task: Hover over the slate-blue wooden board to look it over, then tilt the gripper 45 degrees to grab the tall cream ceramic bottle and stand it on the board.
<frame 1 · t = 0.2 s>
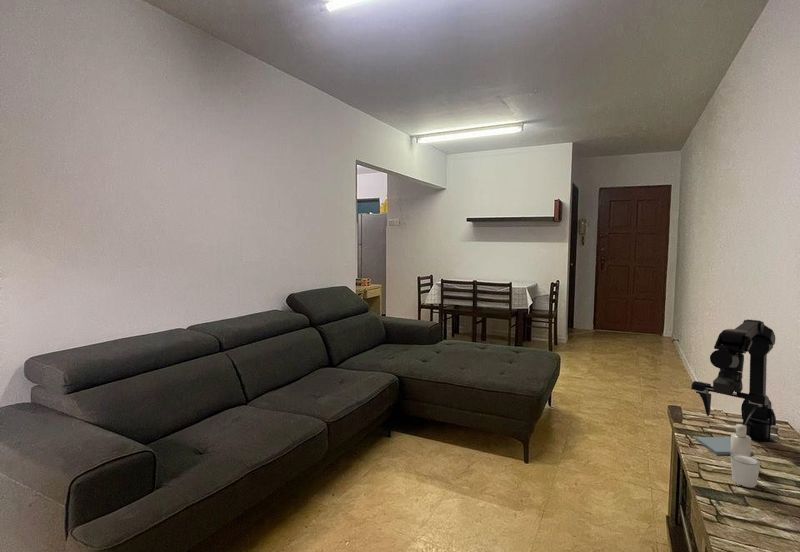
hand: (725, 420, 134), 15 cm above the table, tool pointing down, fingers open, 9 cm apart
shot glass: (744, 482, 127), on the table
slate board: (723, 447, 149), on the table
cream bottle: (740, 463, 137), on the table
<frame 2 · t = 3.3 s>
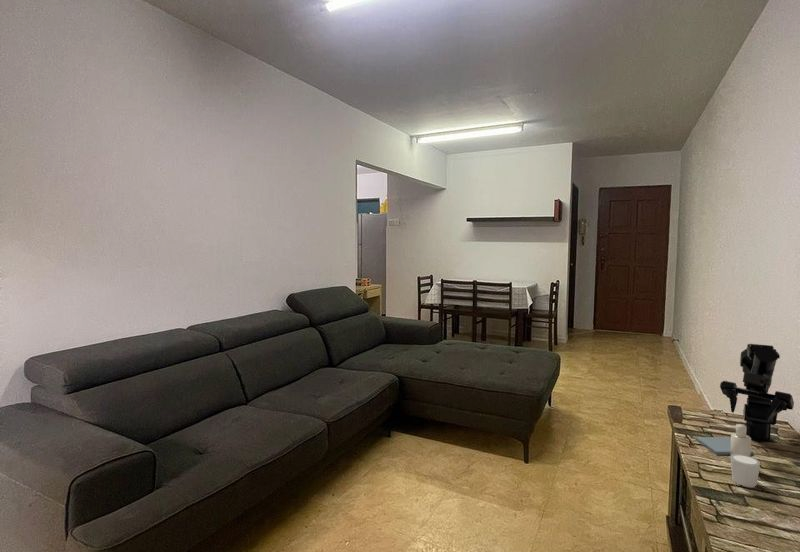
hand: (749, 416, 141), 13 cm above the table, tool tilted 45°, fingers open, 9 cm apart
nothing on the table moved.
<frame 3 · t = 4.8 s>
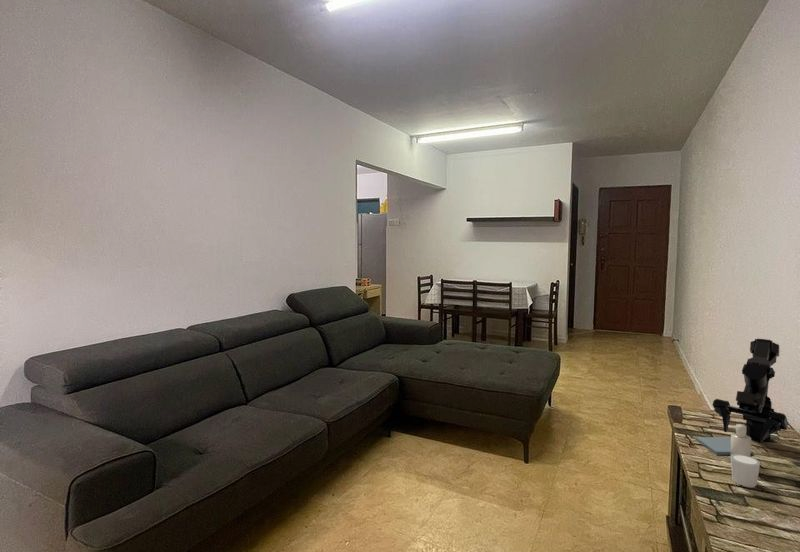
hand: (742, 436, 137), 9 cm above the table, tool tilted 45°, fingers open, 9 cm apart
nothing on the table moved.
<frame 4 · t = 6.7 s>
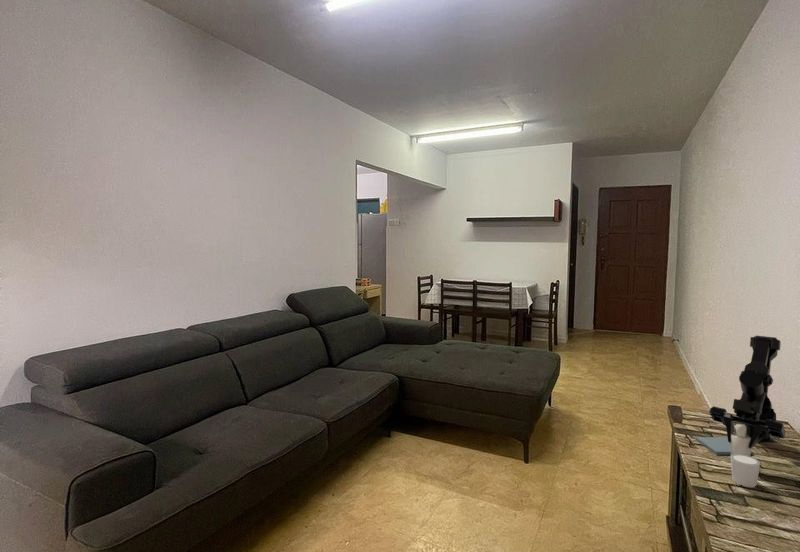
hand: (739, 444, 136), 7 cm above the table, tool tilted 45°, fingers closed on cream bottle, 5 cm apart
cream bottle: (740, 463, 137), on the table, touching gripper
everything else where it was.
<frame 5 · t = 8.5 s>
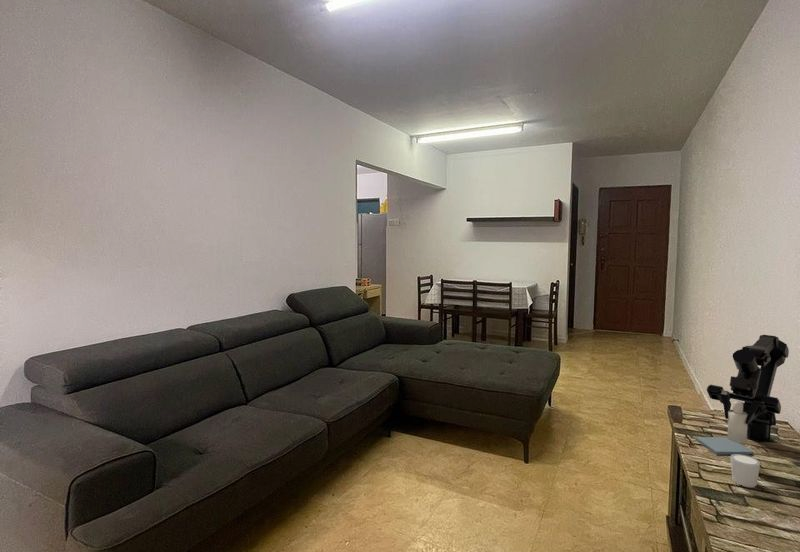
hand: (736, 421, 139), 13 cm above the table, tool tilted 45°, fingers closed on cream bottle, 5 cm apart
cream bottle: (737, 439, 140), point 7 cm above the table, touching gripper
everything else where it was.
when the fingers open (9 cm above the table, at t = 10.5 s): cream bottle drops 1 cm, resting on slate board.
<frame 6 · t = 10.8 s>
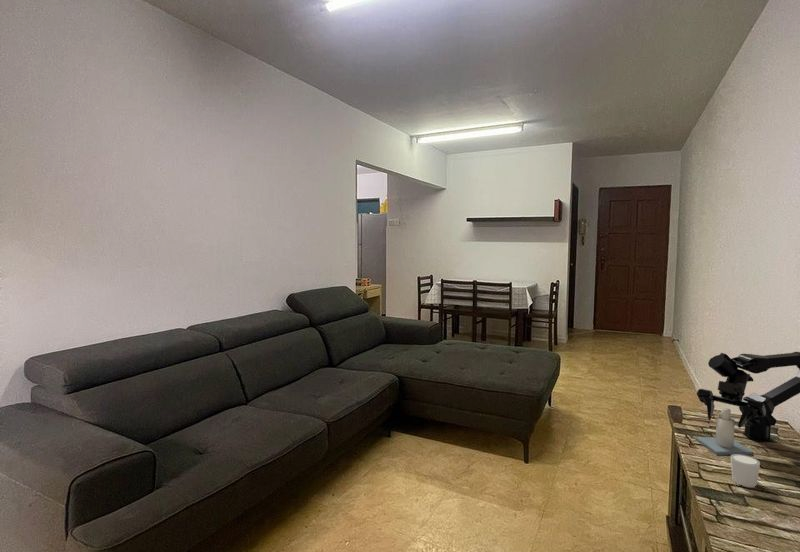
hand: (723, 423, 147), 9 cm above the table, tool tilted 45°, fingers open, 8 cm apart
cream bottle: (724, 444, 148), point 1 cm above the table, touching slate board
everything else where it was.
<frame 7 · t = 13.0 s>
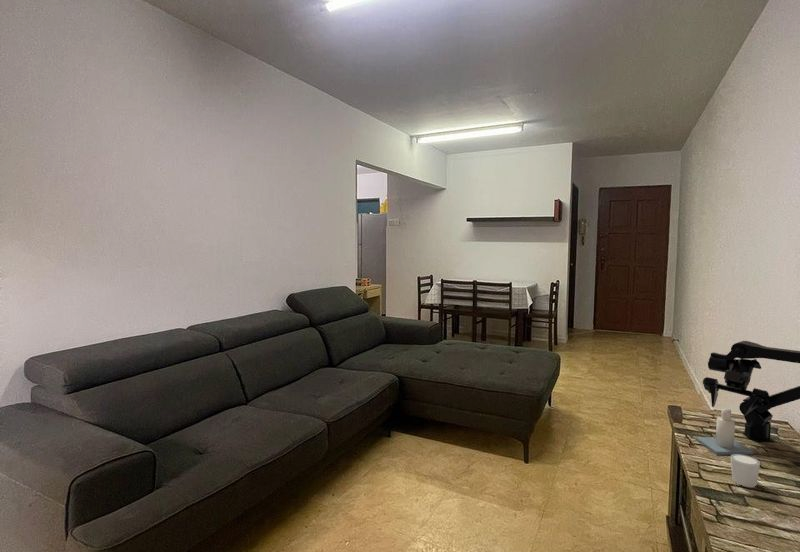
hand: (728, 410, 151), 12 cm above the table, tool tilted 45°, fingers open, 9 cm apart
nothing on the table moved.
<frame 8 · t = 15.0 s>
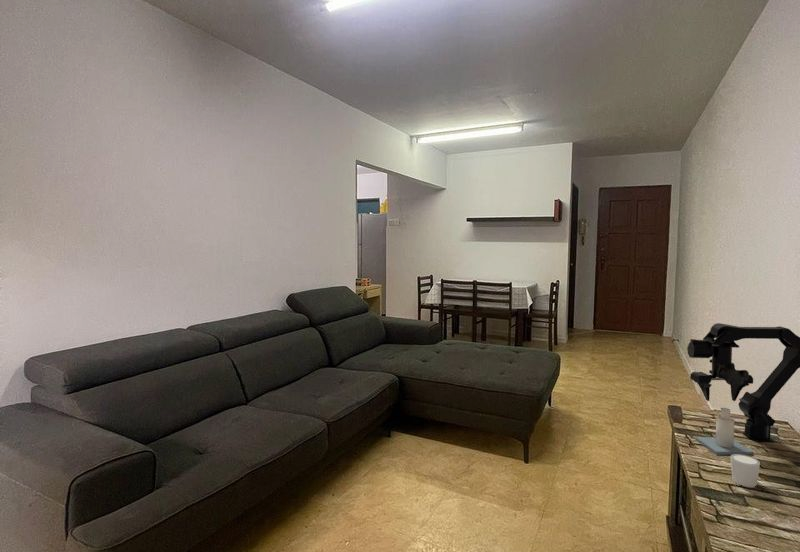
hand: (720, 400, 157), 13 cm above the table, tool pointing down, fingers open, 9 cm apart
nothing on the table moved.
at the end: cream bottle inside the target area on the slate board (0.5 cm from its centre), point 1.1 cm above the slate board's base; cream bottle tilted 2°; the gripper is holding nothing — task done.
